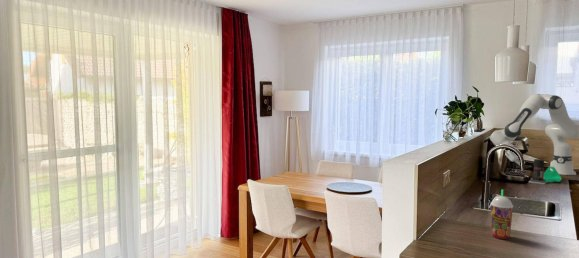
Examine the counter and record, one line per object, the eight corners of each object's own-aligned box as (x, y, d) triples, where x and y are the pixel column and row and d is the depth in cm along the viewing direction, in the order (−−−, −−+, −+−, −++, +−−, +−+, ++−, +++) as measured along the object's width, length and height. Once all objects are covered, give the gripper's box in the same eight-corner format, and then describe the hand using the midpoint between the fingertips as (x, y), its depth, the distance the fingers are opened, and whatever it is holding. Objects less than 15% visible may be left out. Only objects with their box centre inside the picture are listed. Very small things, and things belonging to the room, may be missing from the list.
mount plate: (532, 180, 277) (532, 177, 277) (547, 182, 270) (547, 179, 270) (528, 182, 270) (528, 179, 270) (544, 184, 264) (544, 181, 264)
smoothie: (490, 238, 159) (492, 191, 157) (488, 232, 167) (489, 186, 165) (513, 241, 156) (515, 192, 155) (510, 234, 164) (511, 188, 162)
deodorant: (539, 182, 267) (540, 160, 265) (531, 180, 272) (532, 159, 271) (545, 181, 269) (546, 160, 268) (536, 179, 274) (537, 158, 273)
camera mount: (538, 180, 277) (539, 166, 276) (541, 179, 282) (542, 165, 281) (558, 183, 268) (559, 168, 267) (561, 181, 274) (562, 167, 273)
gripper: (507, 147, 273) (522, 163, 267) (515, 145, 288) (529, 160, 282) (500, 153, 277) (515, 168, 270) (508, 151, 291) (522, 165, 285)
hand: (522, 164), depth 276 cm, fingers open, 8 cm apart
